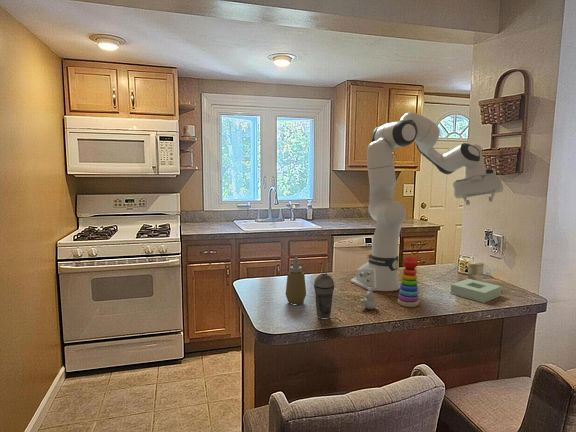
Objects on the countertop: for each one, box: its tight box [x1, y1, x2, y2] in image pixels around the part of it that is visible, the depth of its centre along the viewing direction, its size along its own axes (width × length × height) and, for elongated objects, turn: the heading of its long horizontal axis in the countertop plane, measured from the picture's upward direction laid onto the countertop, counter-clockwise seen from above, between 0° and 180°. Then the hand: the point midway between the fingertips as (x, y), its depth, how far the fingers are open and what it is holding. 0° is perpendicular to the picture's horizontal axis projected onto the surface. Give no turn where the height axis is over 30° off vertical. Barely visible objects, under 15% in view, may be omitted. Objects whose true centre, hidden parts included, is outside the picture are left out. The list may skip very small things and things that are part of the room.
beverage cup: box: [313, 261, 335, 319], centre depth 137 cm, size 7×7×20 cm
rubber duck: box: [360, 290, 378, 310], centre depth 146 cm, size 5×7×8 cm
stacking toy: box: [397, 256, 420, 308], centre depth 151 cm, size 8×8×19 cm
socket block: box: [450, 278, 502, 304], centre depth 163 cm, size 14×14×4 cm
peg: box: [467, 261, 485, 282], centre depth 176 cm, size 4×4×10 cm
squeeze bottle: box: [285, 257, 307, 305], centre depth 151 cm, size 8×8×18 cm
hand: (479, 202), depth 176 cm, fingers open, 8 cm apart
